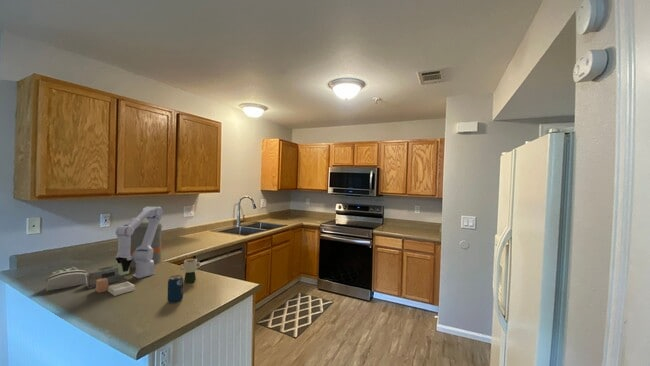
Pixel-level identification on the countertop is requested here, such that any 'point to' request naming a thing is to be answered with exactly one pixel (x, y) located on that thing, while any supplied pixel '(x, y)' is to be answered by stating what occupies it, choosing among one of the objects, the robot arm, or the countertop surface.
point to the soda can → (175, 289)
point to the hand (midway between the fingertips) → (123, 270)
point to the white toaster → (66, 270)
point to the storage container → (138, 239)
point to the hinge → (66, 279)
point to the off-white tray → (121, 288)
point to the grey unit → (104, 275)
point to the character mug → (190, 269)
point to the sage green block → (121, 269)
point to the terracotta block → (102, 285)
